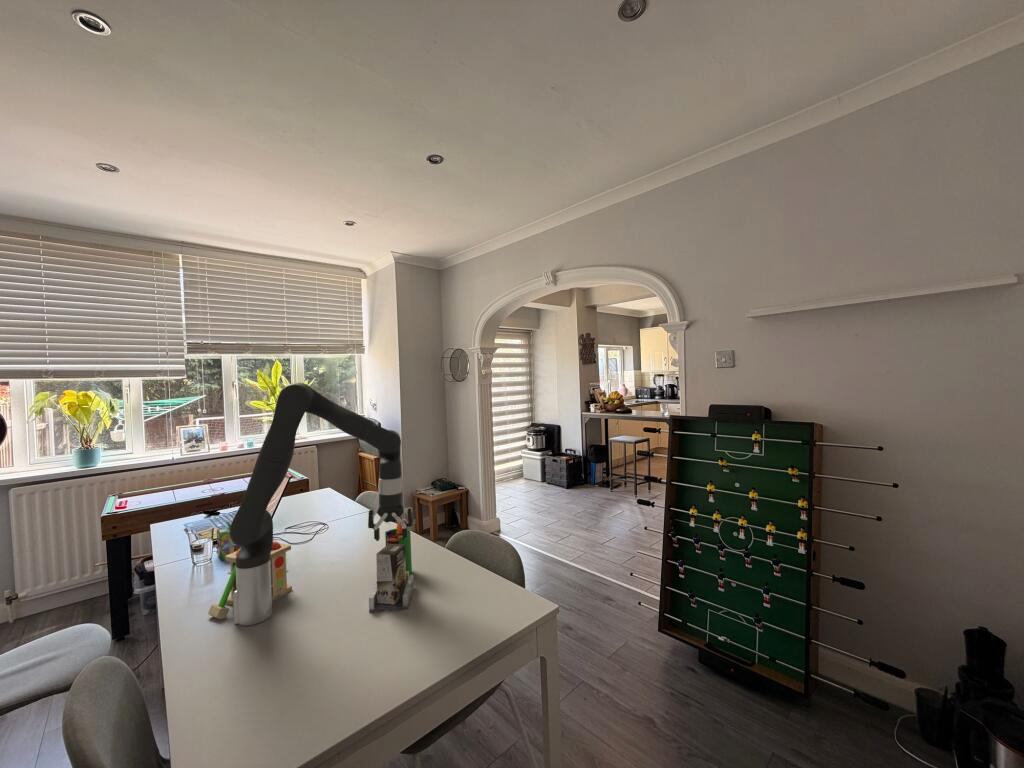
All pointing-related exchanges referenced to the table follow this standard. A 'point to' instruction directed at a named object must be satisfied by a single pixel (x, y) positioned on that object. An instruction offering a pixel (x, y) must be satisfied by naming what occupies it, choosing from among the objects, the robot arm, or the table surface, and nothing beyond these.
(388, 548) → the coffee box
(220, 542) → the chalk box
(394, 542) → the motor
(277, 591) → the pounding bench toy
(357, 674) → the table surface
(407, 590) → the grey open tray
